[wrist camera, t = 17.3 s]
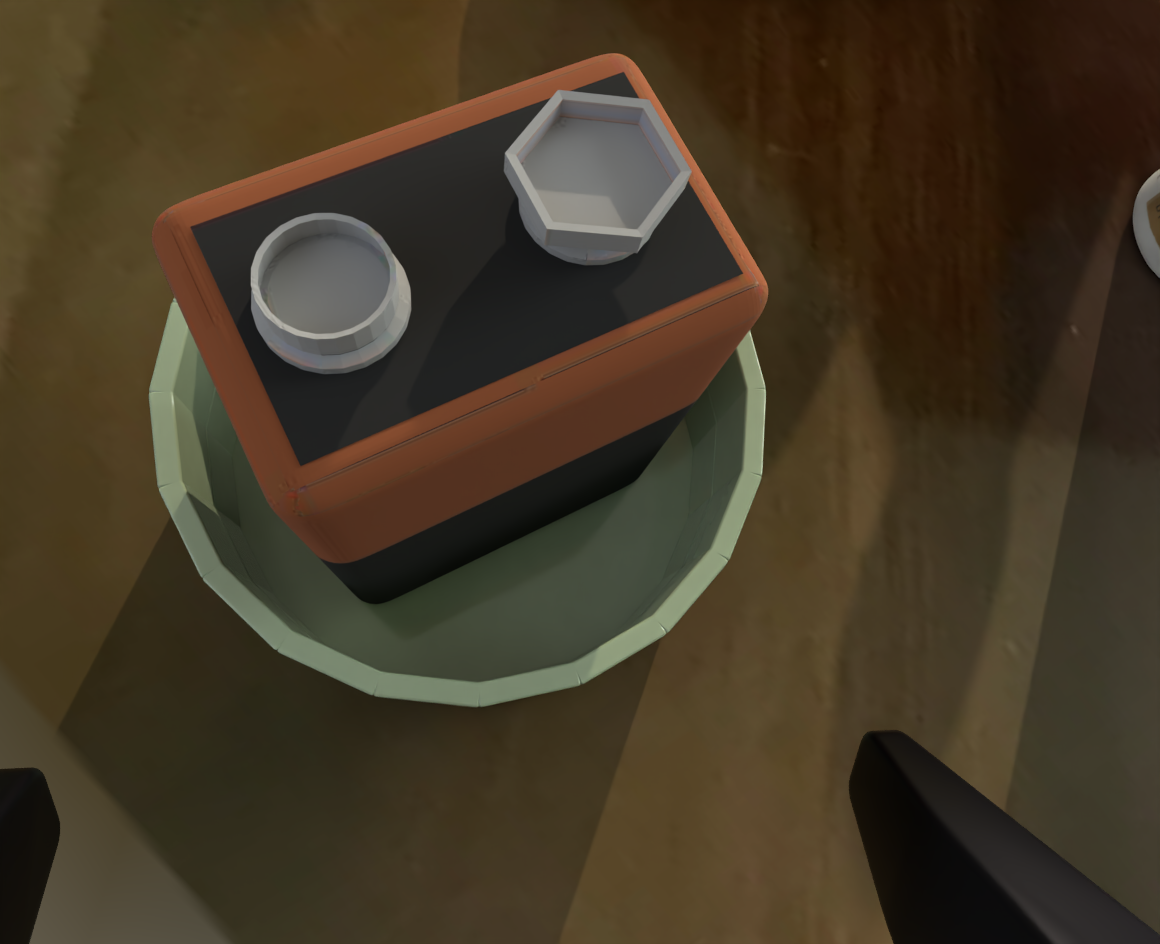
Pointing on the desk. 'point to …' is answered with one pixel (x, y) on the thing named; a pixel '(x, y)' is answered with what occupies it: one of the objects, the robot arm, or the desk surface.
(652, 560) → the bowl
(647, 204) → the battery
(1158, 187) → the pill bottle
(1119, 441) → the desk surface
